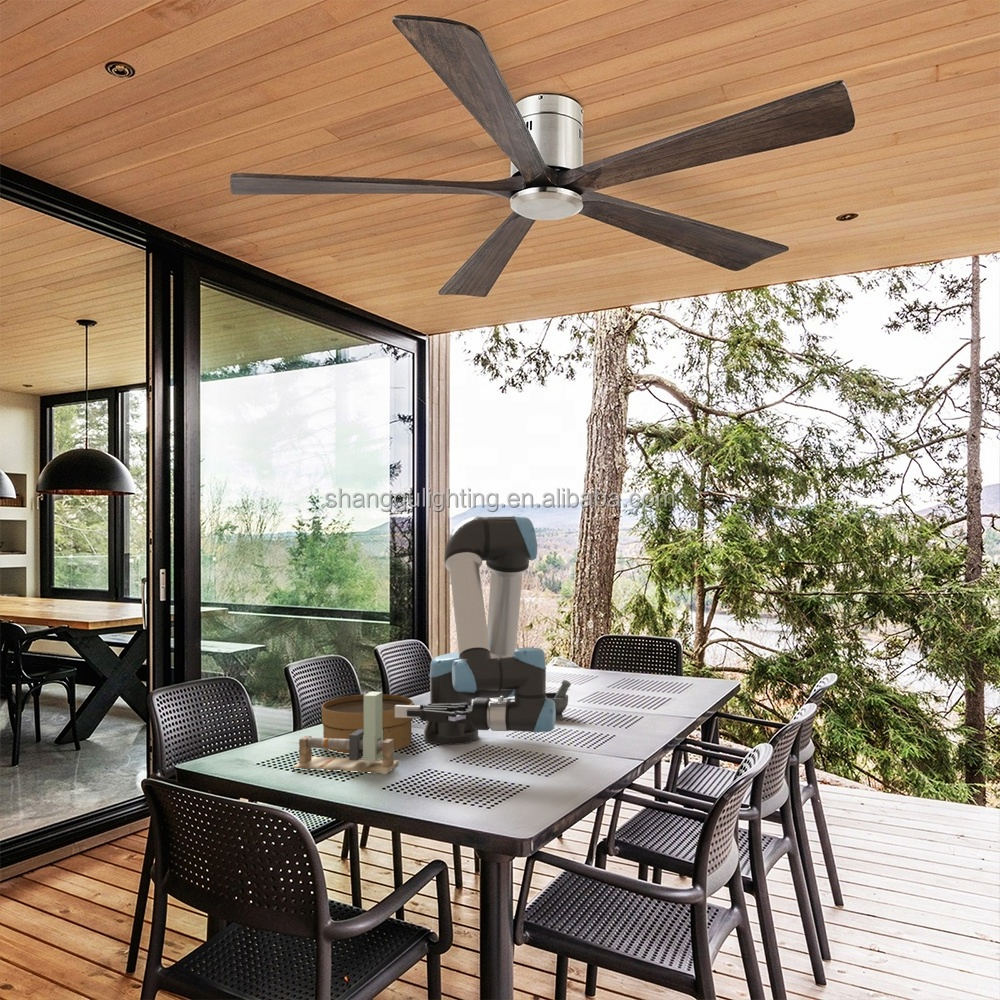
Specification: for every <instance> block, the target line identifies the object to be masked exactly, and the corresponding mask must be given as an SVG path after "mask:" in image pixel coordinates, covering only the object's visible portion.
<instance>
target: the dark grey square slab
mask: <svg viewBox="0 0 1000 1000" xmlns="http://www.w3.org/2000/svg"><path fill="white" fill-rule="evenodd" d="M363 735H364V729H358V730H356V731H355V732H353V733H352V734H350V735H349V754H348V758H349V760H358V759H362V758H363V750H359V740H363Z"/></svg>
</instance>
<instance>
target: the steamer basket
mask: <svg viewBox="0 0 1000 1000" xmlns="http://www.w3.org/2000/svg"><path fill="white" fill-rule="evenodd" d="M364 695H365V694H356V695H355V694H354V695H346V696H340V697H336V698H332V699H329V700H327V701H325V702H323V703H322V704H321V723H322V726H323V730H322V731H323V734H322V735H323V737H322V738H333V739H349V735H350V734H352V733H353V732H355V731H356V730H358V729H364ZM396 705H415V703H414V701H413V700H412V699H411V698H409V697H405V696H402V695H396V694H395V695H394V694H384V693H382V730H383V740H386V739H394V752H395V751H397V750H401V749H404V748H406V747H408V746H409V745H410V744H412V737H413V736H412V721H413V720H414V718H397V717H395V706H396ZM330 750H333V751H337V752H343V753H349V749H330Z"/></svg>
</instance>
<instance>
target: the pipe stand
mask: <svg viewBox="0 0 1000 1000" xmlns="http://www.w3.org/2000/svg"><path fill="white" fill-rule="evenodd" d="M298 740H299V742H298V743H299V744H298V745H299V747H298V750H299V752H298V753H299V754H298V757H299V758H298V763H297V764H295V765H293V766H292V769H293V768H304V769H326V770H343V771H359V772H371V773H386V774H385V775H388V774H389V773H390V772H391V771H392V770H393V769H395V768H396V767H397V766H396V765H399V763H400V760H398V759H397V760H396V759H394V757H395V756H394V754H395V753H394V752H395V751H394V739H386V740H377V751H382V756H381V757H382V759H379V758H378V759H377V760H376V761H363V758H360V759H358V760H349V757H329V756H327V757H326V756H312V748H314V749H326V750H327V749H349V739H333V738H323V737H312V735H304V736H303V737H301V738H299V739H298ZM359 750H363V740H359ZM391 769H392V770H391ZM390 770H391V771H390ZM389 771H390V772H389ZM388 772H389V773H388ZM371 773H370V774H371ZM387 773H388V774H387Z"/></svg>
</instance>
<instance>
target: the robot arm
mask: <svg viewBox="0 0 1000 1000" xmlns="http://www.w3.org/2000/svg"><path fill="white" fill-rule="evenodd" d="M537 540H538V539H537V536H536V530H535V527H534V524H533V522H532V520H531V519H530V518H528V517H526V516H516V515H512V516H472V517H469V518H467V519H464V520H463V521H462V522H460V523H459V524H458V525H457V526H456V527H455V528H454V529H453V530H452V532H451V534H450V535H449V538H448V539H447V541H446V544H445V548H444V567H445V569H446V570H447V571H448V572H449V575H450V585H451V594H452V602H453V613H454V621H455V623H454V624H455V631H456V641H457V649H458V651H455V652H451V653H450V652H449V653H445V654H440V655H438V656H436V657H434V658H433V659H432V660H431V661H430V669H429V674H428V675H429V678H430V679H429V682H430V683H429V685H430V687H429V689H430V690H429V691H430V693H429V697H430V698H429V699H430V700H429V701H430V702H429V703H427V705H426V704H425V705H424V704H419V705H415V704H414V705H396V706H395V717H397V718H413V719H420V721H422V722H424V721H425V722H426V724H425V728H424V732H423V735H424V737H423V740H424V741H425V742H427V743H430V744H435V745H436V744H437V745H449V746H450V745H463V744H467V743H473V742H474V741H476V740H478V739H479V731H489V730H491V731H494V732H526V733H527V732H531V733H548V732H549V733H550V732H552V731H553V730H554V728H555V726H556V721H557V720H556V709H555V702H554V701H553V700H551V699H547V697H546V693H547V691H546V689H547V688H546V686H547V685H546V681H547V680H546V679H547V677H546V675H547V671H546V670H547V666H546V665H547V664H546V655H545V651H544V650H543V649H541V648H540V647H531V646H530V647H528V646H527V647H526V646H524V647H517V643H518V632H519V622H520V621H519V619H520V609H521V595H522V583H523V582H522V581H523V574H524V572H526V571H527V570H528V569H529V566H530V565H529V564H530V561H531V562H532V561H534V560H536V558H537V556H538V543H537V542H538V541H537ZM483 561H484V562H485V565H486V567H487V568H488V569H489V570H490V581H489V593H488V597H489V599H488V610H487V616H486V611H485V609H486V608H485V603H484V602H485V601H484V595H483V587H482V586H483V585H482V580H481V574H480V572H481V571H480V568H481V567H482V565H483ZM513 697H514V698H513ZM472 700H473V702H472Z"/></svg>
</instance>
